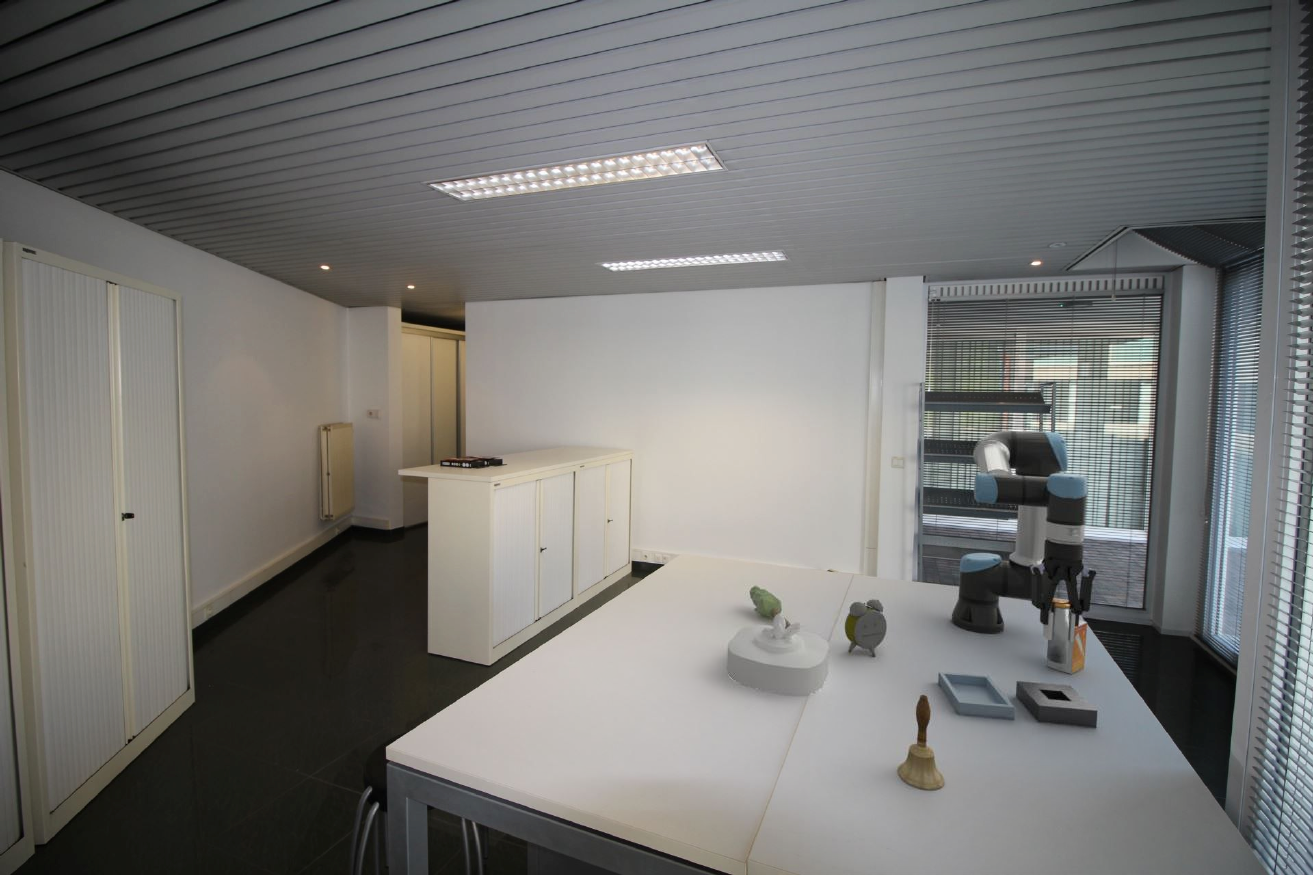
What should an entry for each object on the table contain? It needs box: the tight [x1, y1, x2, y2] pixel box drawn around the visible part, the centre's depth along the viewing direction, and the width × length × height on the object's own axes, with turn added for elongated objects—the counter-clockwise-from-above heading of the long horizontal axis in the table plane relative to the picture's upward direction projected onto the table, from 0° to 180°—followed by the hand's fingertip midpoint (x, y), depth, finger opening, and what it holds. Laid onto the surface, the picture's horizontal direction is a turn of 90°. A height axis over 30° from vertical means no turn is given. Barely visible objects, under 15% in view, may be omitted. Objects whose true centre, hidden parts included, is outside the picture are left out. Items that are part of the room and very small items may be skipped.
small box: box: [1046, 619, 1088, 675], centre depth 165 cm, size 8×6×13 cm
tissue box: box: [726, 613, 830, 697], centre depth 160 cm, size 25×25×16 cm
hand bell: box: [897, 694, 945, 791], centre depth 115 cm, size 8×8×16 cm
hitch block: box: [1015, 680, 1098, 729], centre depth 141 cm, size 12×12×4 cm
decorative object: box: [749, 585, 792, 629], centre depth 199 cm, size 9×10×25 cm
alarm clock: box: [844, 599, 888, 657], centre depth 172 cm, size 12×7×15 cm, turn 112°
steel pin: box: [1046, 598, 1071, 664], centre depth 140 cm, size 4×4×14 cm
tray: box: [937, 671, 1016, 721], centre depth 146 cm, size 16×12×3 cm
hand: (1058, 638), depth 140 cm, fingers closed on steel pin, 4 cm apart
